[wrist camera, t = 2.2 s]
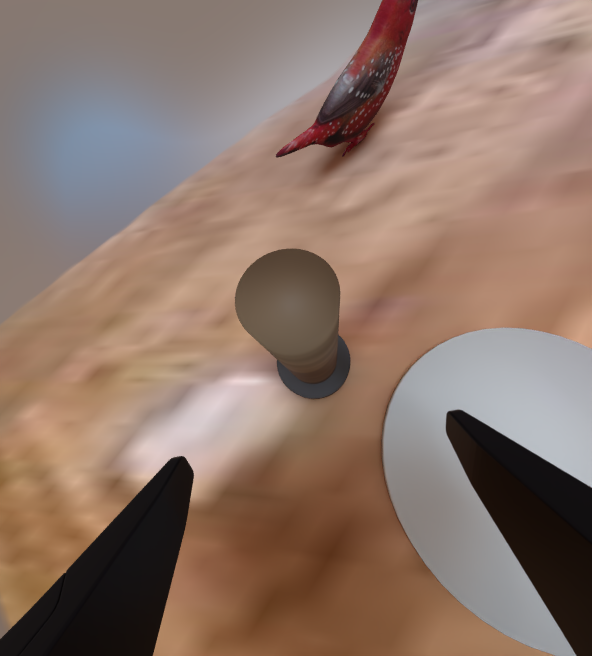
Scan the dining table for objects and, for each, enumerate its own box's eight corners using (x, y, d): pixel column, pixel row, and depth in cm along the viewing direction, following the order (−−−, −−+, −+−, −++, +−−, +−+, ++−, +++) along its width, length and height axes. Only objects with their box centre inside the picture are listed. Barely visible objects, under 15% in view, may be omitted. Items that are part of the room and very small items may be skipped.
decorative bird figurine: (408, 108, 28) (446, -46, 19) (299, 220, 26) (279, 108, 16) (385, 99, 29) (410, -53, 20) (278, 206, 26) (247, 92, 17)
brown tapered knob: (340, 407, 20) (351, 400, 8) (271, 387, 21) (183, 353, 9) (355, 338, 21) (386, 237, 9) (290, 323, 22) (237, 216, 10)
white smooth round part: (722, 715, 13) (752, 738, 12) (357, 566, 17) (358, 575, 16) (681, 364, 18) (700, 362, 17) (403, 310, 21) (406, 305, 20)
